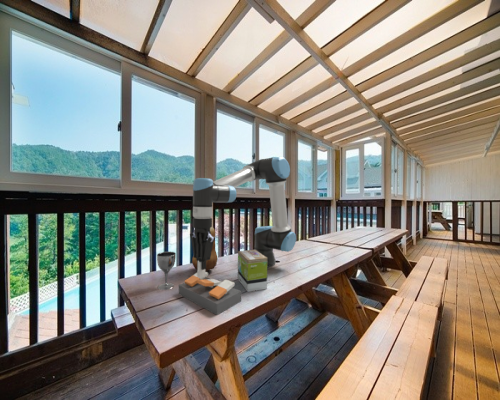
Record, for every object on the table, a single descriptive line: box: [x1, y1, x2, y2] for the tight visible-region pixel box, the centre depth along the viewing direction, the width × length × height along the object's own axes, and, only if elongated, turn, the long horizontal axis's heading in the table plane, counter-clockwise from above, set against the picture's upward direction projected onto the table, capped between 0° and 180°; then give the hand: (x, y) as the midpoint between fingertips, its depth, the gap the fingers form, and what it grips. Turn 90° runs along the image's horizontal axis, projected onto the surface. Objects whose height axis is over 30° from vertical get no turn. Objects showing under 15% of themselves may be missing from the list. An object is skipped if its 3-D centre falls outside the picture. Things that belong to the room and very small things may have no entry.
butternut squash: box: [191, 226, 218, 272], centre depth 115 cm, size 14×13×25 cm
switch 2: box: [209, 279, 236, 299], centre depth 80 cm, size 9×5×2 cm, turn 141°
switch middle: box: [197, 278, 222, 287], centre depth 86 cm, size 9×5×2 cm, turn 142°
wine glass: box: [156, 251, 176, 291], centre depth 95 cm, size 8×8×15 cm
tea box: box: [237, 249, 268, 293], centre depth 100 cm, size 15×10×15 cm, turn 21°
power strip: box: [178, 276, 242, 316], centre depth 89 cm, size 22×24×4 cm
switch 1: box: [183, 271, 209, 286], centre depth 90 cm, size 9×5×2 cm, turn 141°
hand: (201, 276), depth 82 cm, fingers closed
